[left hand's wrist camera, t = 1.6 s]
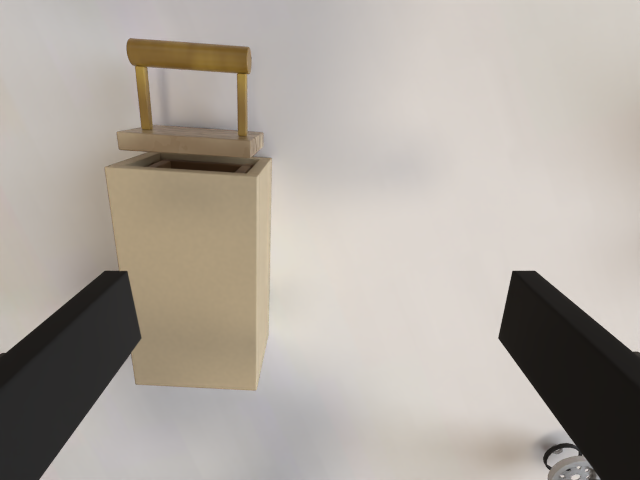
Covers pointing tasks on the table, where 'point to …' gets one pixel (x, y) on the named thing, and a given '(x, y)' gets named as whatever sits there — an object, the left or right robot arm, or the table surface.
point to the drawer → (188, 138)
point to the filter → (569, 465)
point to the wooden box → (195, 268)
